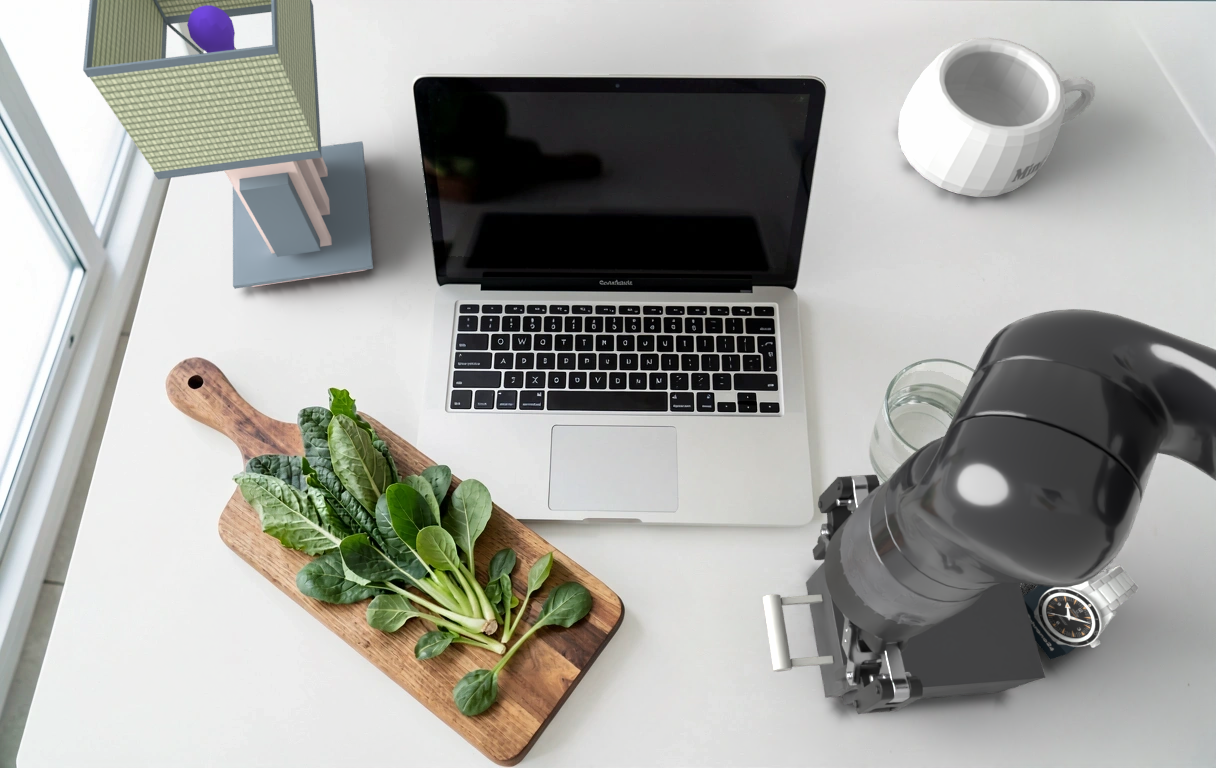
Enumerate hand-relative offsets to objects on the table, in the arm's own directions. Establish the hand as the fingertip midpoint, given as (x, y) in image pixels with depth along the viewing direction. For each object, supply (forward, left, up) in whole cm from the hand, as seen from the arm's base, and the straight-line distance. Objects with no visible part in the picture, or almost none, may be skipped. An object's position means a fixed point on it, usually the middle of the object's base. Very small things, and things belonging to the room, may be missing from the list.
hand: (837, 613), depth 64 cm
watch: (-23, -1, -17) cm, 29 cm away
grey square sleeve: (-11, -1, -17) cm, 20 cm away
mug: (-32, -55, -17) cm, 66 cm away
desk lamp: (+45, -49, -17) cm, 69 cm away
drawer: (-6, -1, -16) cm, 17 cm away
